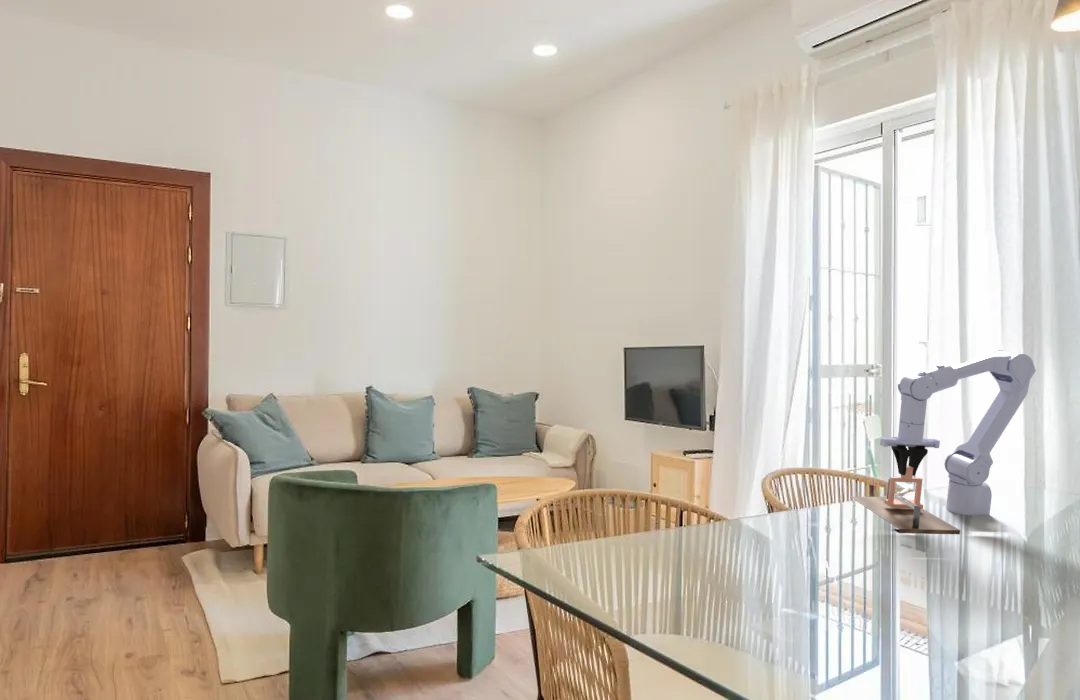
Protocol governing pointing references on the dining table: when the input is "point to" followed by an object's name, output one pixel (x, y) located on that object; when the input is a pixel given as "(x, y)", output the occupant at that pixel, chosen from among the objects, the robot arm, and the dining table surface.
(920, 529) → the base board
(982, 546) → the dining table surface
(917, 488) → the frame
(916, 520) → the bent wire
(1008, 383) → the robot arm
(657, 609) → the dining table surface
